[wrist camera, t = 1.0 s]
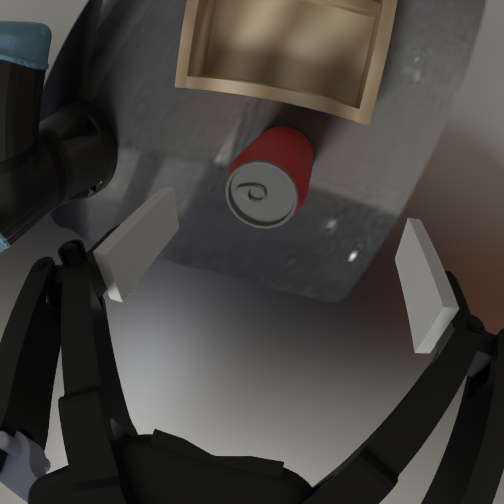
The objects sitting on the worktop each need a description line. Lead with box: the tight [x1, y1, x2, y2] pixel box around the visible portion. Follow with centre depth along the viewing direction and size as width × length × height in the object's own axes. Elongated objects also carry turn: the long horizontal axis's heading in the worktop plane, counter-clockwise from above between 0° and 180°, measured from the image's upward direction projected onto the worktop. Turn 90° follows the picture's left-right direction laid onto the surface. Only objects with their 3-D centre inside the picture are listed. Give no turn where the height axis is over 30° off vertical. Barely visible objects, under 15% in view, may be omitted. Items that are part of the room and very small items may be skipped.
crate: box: [175, 0, 397, 126], centre depth 19 cm, size 18×19×5 cm
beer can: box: [225, 126, 314, 229], centre depth 26 cm, size 7×7×12 cm
